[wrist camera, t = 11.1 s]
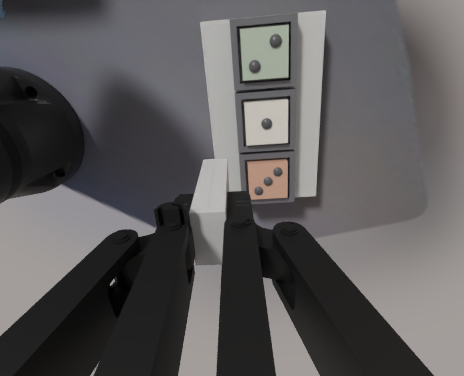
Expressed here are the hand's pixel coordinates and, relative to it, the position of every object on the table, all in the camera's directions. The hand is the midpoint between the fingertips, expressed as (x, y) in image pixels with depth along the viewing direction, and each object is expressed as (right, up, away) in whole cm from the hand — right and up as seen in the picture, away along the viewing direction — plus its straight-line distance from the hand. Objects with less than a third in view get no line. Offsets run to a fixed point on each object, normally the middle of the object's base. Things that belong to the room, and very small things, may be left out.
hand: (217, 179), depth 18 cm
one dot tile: (+5, +7, +13) cm, 15 cm away
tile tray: (+5, +8, +16) cm, 18 cm away
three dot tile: (+5, +1, +15) cm, 16 cm away
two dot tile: (+4, +13, +10) cm, 17 cm away
